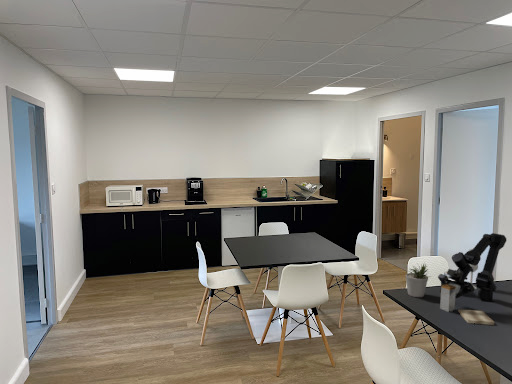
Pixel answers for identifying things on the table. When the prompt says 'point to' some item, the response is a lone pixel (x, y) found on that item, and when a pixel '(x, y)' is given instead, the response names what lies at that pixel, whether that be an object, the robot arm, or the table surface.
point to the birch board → (476, 317)
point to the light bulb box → (452, 283)
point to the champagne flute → (473, 271)
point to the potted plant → (417, 281)
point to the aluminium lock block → (447, 297)
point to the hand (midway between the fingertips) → (448, 295)
